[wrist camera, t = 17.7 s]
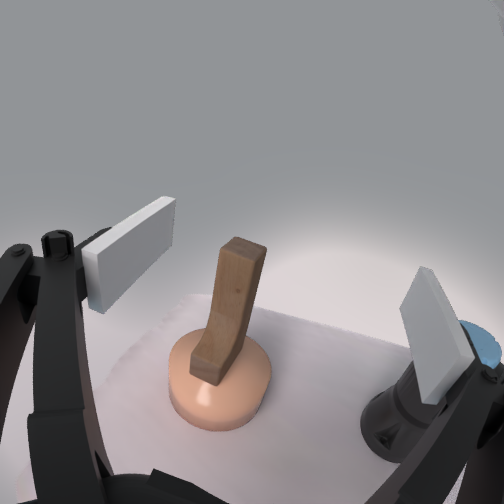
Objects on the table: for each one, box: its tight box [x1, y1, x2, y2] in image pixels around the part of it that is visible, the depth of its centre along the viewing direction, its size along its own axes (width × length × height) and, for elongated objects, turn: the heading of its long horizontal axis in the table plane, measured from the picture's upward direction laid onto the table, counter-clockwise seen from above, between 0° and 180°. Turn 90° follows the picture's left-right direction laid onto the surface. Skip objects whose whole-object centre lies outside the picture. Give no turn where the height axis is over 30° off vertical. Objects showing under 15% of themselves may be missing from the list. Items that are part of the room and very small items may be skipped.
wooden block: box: [189, 237, 267, 386], centre depth 39 cm, size 9×4×18 cm, turn 158°
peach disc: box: [169, 328, 271, 431], centre depth 45 cm, size 15×15×8 cm
